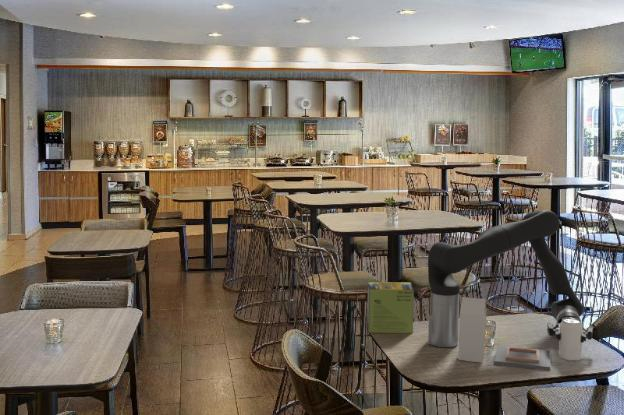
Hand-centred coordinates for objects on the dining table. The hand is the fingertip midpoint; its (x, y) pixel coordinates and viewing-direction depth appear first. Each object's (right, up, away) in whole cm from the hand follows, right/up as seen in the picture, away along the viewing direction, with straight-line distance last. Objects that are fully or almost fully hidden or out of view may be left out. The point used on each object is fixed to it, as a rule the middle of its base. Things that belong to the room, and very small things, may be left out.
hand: (570, 338), depth 212 cm
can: (+1, -7, +3) cm, 7 cm away
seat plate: (-14, -7, +2) cm, 16 cm away
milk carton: (-30, -7, +3) cm, 31 cm away
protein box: (-52, -3, +31) cm, 61 cm away
